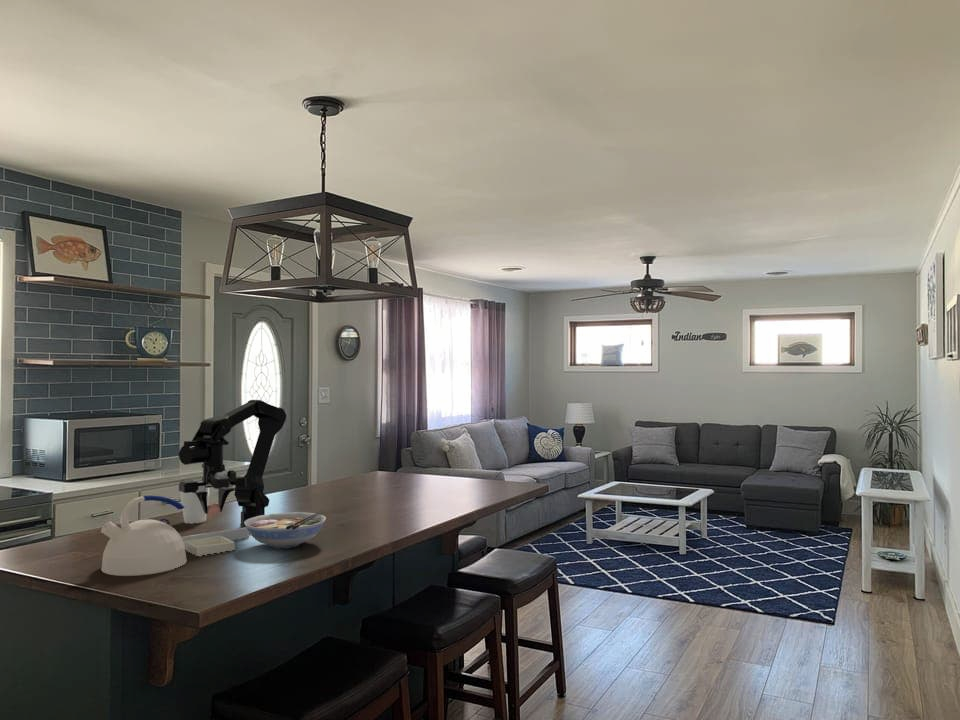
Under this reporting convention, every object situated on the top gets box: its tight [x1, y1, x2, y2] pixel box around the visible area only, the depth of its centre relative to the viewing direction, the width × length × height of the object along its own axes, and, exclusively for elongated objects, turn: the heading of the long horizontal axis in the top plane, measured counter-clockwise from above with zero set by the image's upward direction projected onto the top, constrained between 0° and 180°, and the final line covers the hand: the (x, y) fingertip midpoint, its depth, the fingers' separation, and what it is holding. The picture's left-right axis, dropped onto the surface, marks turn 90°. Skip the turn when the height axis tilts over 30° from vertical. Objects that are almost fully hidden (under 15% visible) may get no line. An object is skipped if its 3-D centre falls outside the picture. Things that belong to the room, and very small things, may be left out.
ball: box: [207, 503, 221, 518], centre depth 228 cm, size 4×4×4 cm
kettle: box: [100, 495, 188, 577], centre depth 195 cm, size 20×21×18 cm
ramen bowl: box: [244, 510, 327, 549], centre depth 215 cm, size 25×23×8 cm
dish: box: [184, 536, 236, 557], centre depth 210 cm, size 10×10×2 cm
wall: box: [181, 527, 250, 542], centre depth 219 cm, size 20×1×3 cm, turn 130°
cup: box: [179, 488, 211, 525], centre depth 249 cm, size 9×9×12 cm
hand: (213, 512), depth 228 cm, fingers closed on ball, 4 cm apart
